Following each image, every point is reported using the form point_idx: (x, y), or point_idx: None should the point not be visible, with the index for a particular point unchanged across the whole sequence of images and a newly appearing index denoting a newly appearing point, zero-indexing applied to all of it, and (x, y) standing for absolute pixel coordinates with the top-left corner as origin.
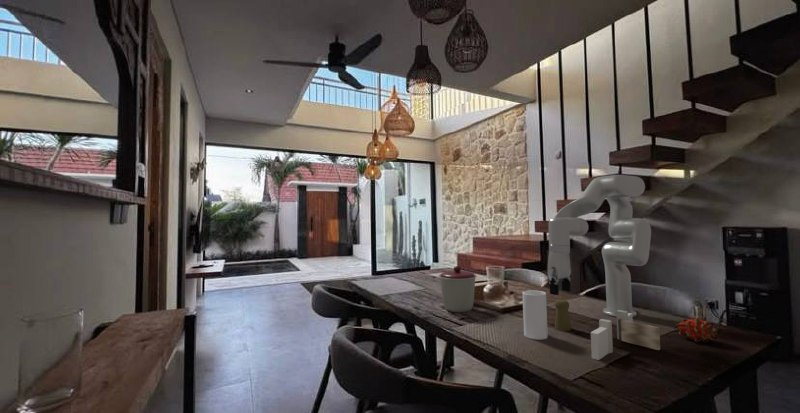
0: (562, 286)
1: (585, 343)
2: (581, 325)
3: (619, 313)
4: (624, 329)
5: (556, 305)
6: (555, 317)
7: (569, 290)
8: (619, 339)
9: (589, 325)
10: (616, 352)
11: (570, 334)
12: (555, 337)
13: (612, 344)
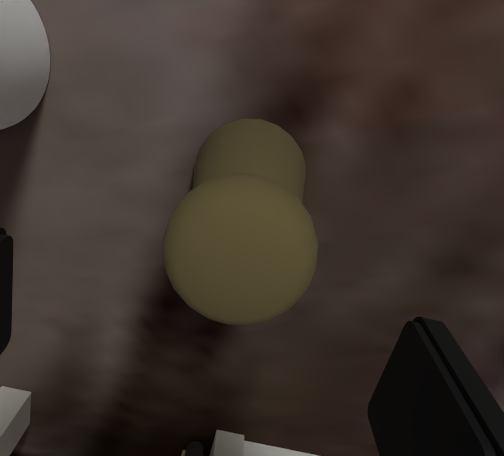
0: (431, 371)
1: (53, 324)
2: (378, 265)
3: None
4: None
5: (178, 205)
6: (236, 144)
7: (373, 422)
8: (187, 445)
9: (401, 304)
10: (34, 433)
11: (150, 239)
12: (31, 174)
13: (11, 452)
